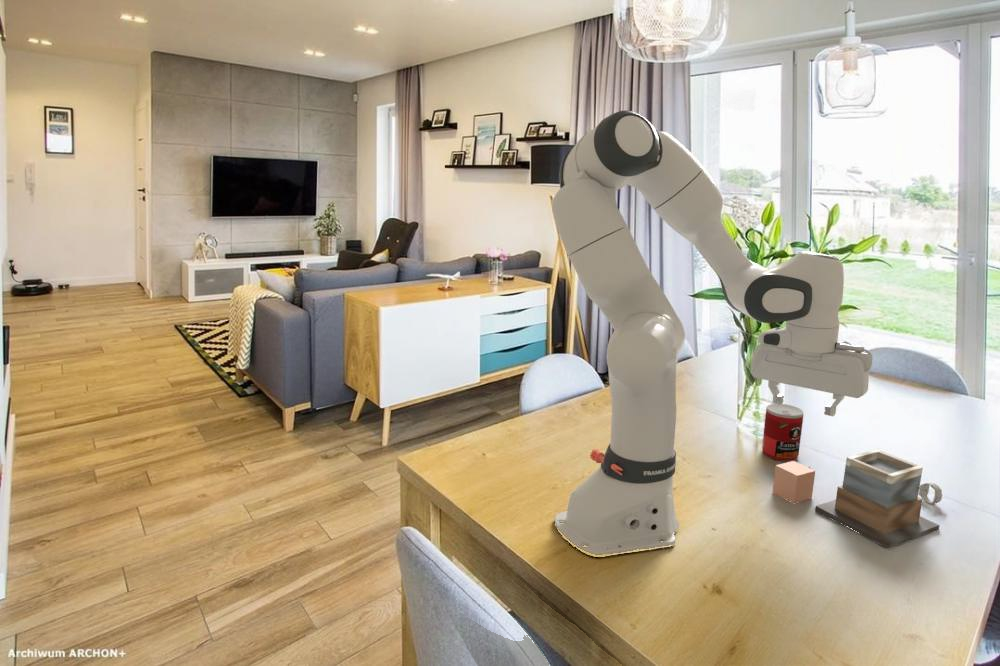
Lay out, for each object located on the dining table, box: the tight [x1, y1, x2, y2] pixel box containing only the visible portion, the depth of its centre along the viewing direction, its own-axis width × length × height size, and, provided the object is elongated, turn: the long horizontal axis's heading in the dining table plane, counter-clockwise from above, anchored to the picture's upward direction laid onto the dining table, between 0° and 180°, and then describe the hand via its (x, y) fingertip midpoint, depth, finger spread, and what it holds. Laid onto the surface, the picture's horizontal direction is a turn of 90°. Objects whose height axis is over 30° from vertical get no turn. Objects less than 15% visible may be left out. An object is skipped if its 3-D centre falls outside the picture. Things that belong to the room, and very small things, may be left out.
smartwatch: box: [918, 482, 943, 505], centre depth 117 cm, size 4×2×4 cm, turn 14°
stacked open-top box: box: [814, 448, 940, 550], centre depth 110 cm, size 14×14×12 cm
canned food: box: [761, 403, 804, 462], centre depth 138 cm, size 8×8×11 cm
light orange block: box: [772, 460, 816, 504], centre depth 119 cm, size 5×5×6 cm
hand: (803, 408), depth 116 cm, fingers open, 8 cm apart
